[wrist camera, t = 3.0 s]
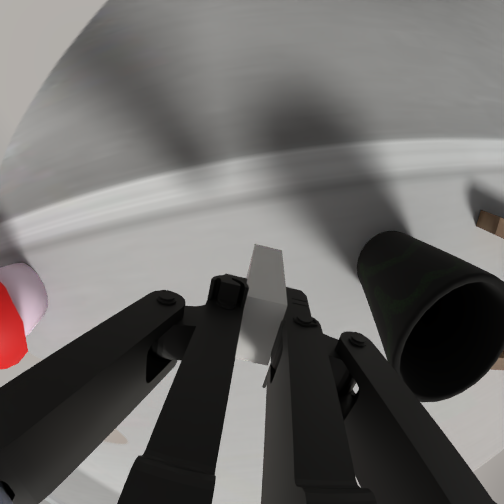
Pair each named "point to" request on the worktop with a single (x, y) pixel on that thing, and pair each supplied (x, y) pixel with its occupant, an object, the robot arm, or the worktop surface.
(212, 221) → the worktop surface
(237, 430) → the worktop surface
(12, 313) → the mushroom
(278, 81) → the worktop surface
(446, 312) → the cup
